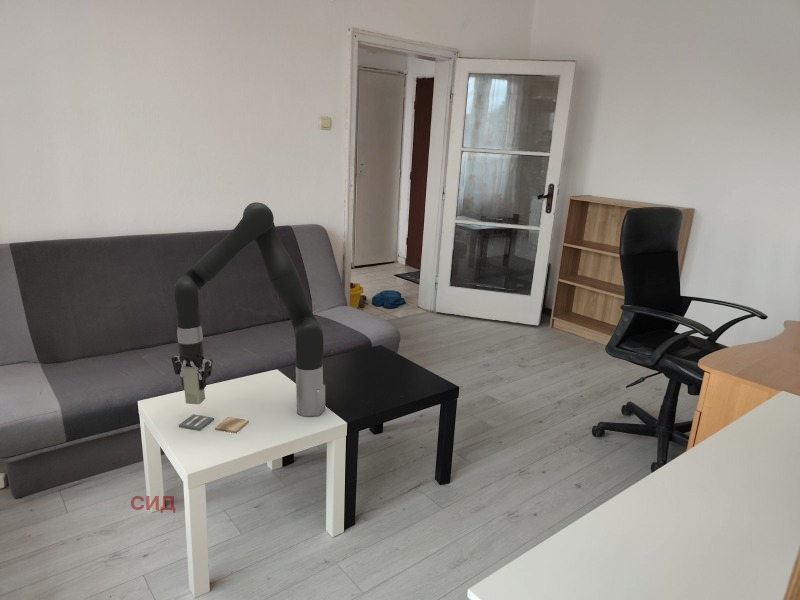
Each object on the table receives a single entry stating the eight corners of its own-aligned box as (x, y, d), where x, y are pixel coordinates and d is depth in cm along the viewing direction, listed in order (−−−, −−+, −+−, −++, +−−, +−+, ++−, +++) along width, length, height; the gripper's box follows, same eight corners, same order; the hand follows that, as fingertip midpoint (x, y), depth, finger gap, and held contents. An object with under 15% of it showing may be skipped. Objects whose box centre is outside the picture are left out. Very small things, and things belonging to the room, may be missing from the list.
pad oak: (249, 422, 188) (248, 420, 188) (236, 433, 181) (236, 431, 180) (227, 418, 190) (227, 416, 190) (214, 429, 183) (214, 427, 182)
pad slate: (214, 419, 189) (213, 417, 189) (200, 430, 182) (199, 428, 182) (193, 416, 191) (193, 413, 191) (178, 427, 184) (178, 424, 183)
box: (205, 399, 186) (203, 363, 183) (199, 405, 182) (197, 368, 179) (190, 398, 187) (187, 362, 183) (184, 404, 183) (181, 367, 179)
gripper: (216, 337, 180) (219, 386, 185) (178, 333, 184) (182, 380, 188) (203, 345, 173) (206, 395, 178) (163, 340, 177) (167, 389, 181)
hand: (194, 387), depth 183 cm, fingers closed on box, 5 cm apart
